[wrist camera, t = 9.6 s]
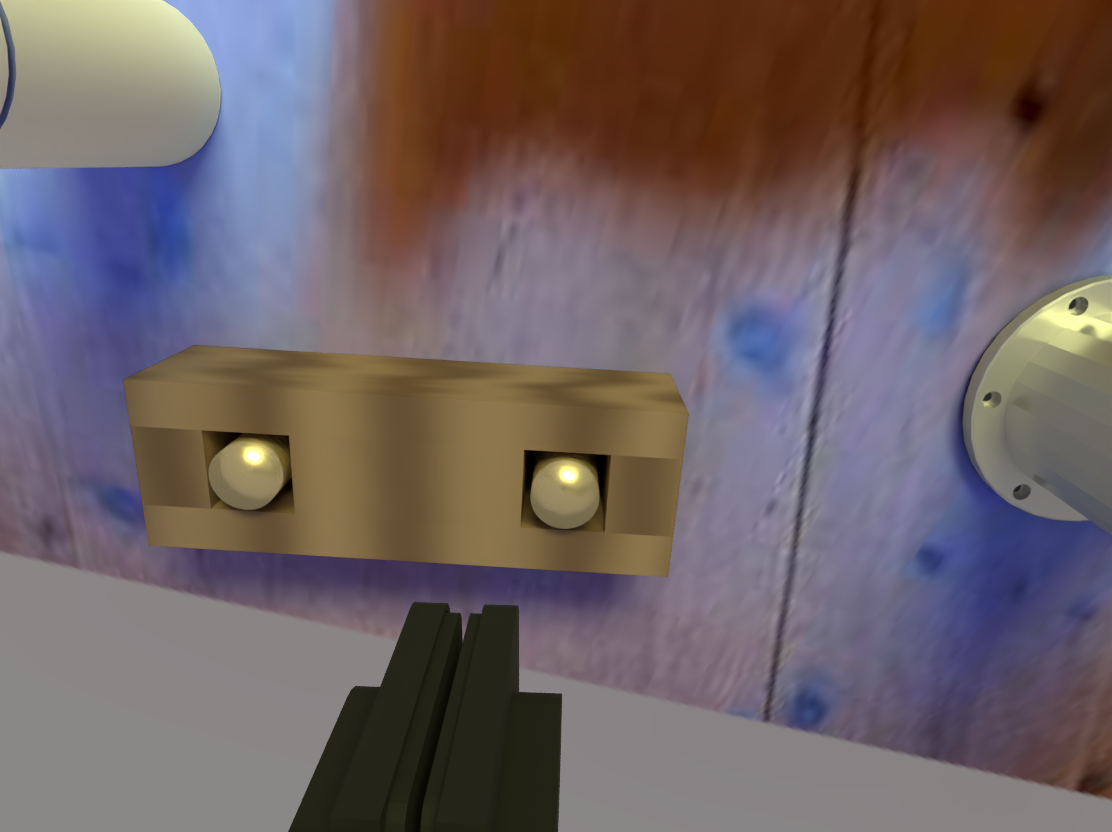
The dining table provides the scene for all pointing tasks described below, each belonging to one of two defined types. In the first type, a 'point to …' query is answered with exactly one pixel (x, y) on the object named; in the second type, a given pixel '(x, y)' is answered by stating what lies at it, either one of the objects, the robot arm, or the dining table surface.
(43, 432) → the dining table surface
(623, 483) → the tan peg holder block
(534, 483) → the inner brass pin
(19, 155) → the cylindrical container
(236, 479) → the outer brass pin
